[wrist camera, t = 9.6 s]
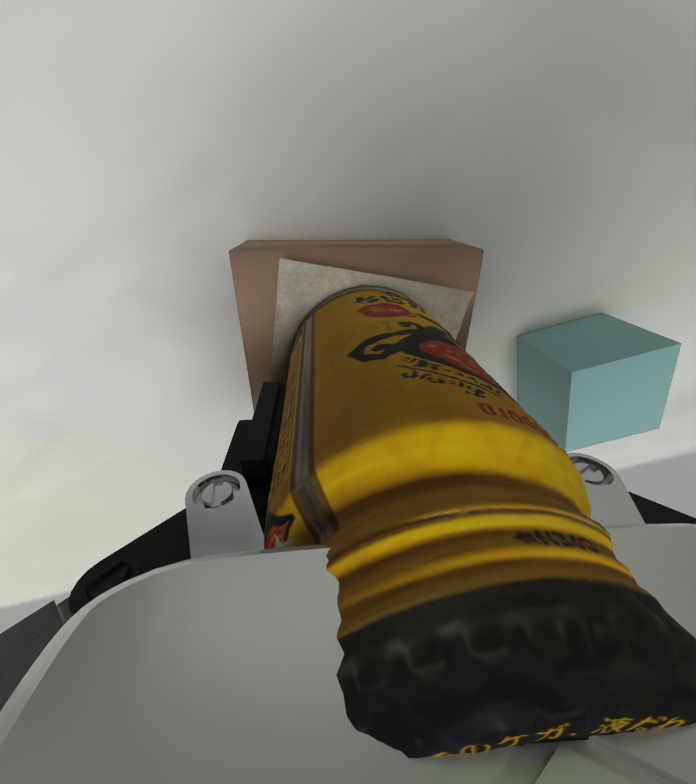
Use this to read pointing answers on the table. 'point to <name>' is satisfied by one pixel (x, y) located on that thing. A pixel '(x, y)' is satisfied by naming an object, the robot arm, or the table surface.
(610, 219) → the table surface
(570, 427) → the teal cube
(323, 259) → the block
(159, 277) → the table surface
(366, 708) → the condiment
